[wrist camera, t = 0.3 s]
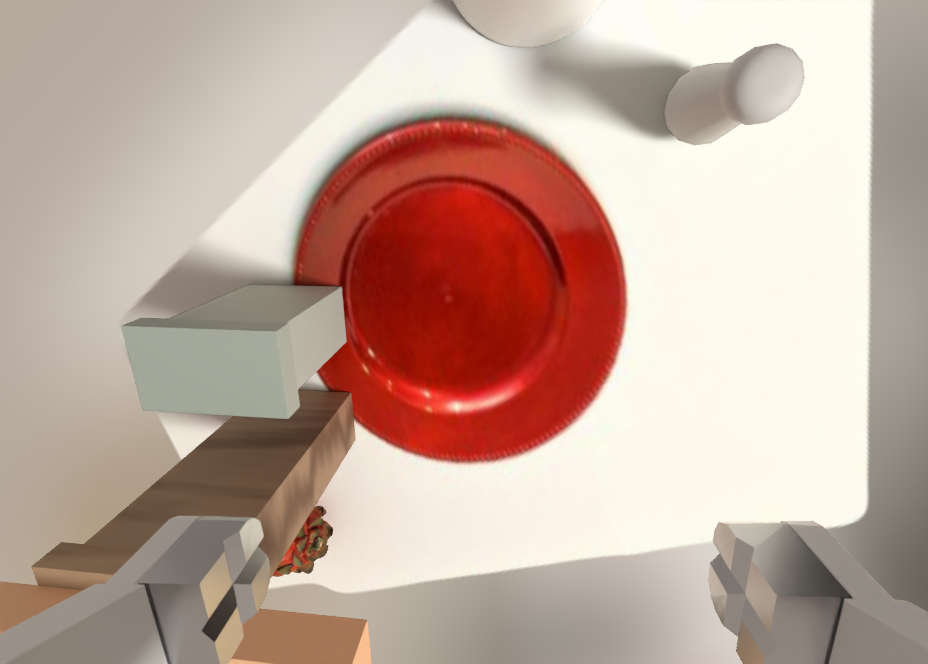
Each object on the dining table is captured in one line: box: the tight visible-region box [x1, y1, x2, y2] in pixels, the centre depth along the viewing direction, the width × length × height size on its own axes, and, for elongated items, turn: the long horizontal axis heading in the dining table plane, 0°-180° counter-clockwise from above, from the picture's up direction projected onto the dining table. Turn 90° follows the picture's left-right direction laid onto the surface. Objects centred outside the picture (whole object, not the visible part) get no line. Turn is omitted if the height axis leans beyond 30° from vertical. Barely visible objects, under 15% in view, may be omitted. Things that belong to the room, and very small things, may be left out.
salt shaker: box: [664, 44, 805, 145], centre depth 33 cm, size 6×6×13 cm
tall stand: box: [32, 390, 355, 590], centre depth 41 cm, size 7×12×26 cm, turn 90°
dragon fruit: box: [272, 506, 333, 577], centre depth 56 cm, size 8×8×12 cm
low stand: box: [121, 284, 347, 419], centre depth 42 cm, size 7×12×16 cm, turn 90°
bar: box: [0, 582, 371, 664], centre depth 27 cm, size 4×24×3 cm, turn 90°
